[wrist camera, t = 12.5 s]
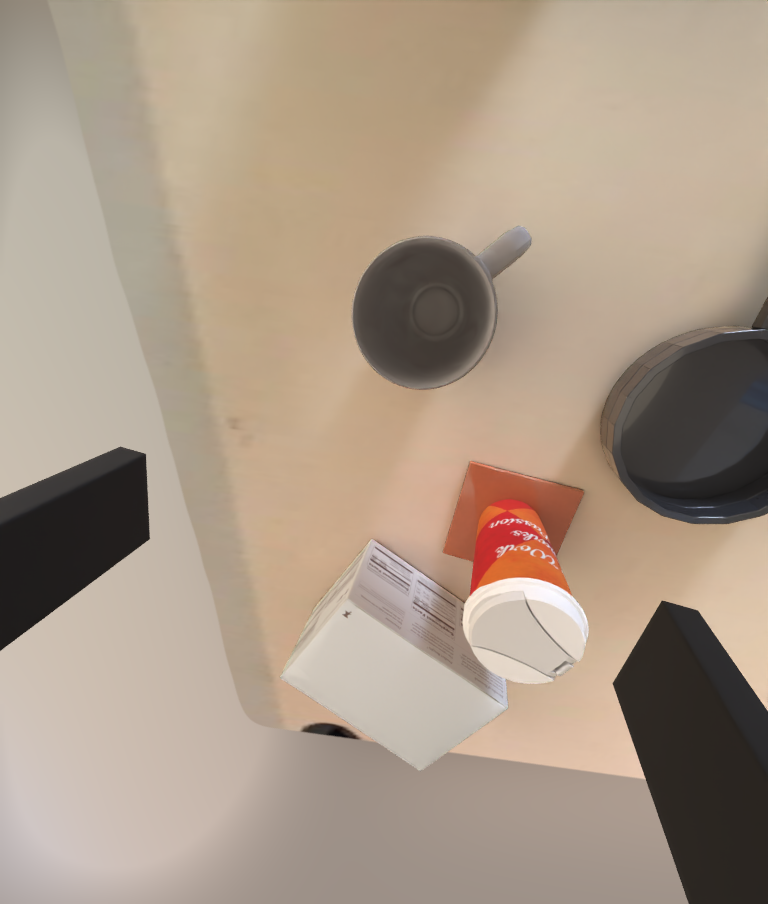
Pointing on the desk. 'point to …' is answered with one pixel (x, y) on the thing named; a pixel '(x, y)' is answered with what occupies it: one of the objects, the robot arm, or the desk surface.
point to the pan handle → (762, 317)
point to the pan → (694, 426)
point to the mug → (430, 307)
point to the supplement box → (395, 660)
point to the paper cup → (521, 599)
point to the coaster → (499, 484)
